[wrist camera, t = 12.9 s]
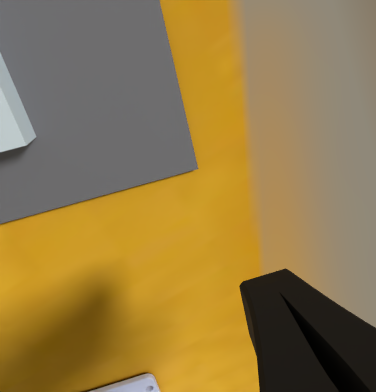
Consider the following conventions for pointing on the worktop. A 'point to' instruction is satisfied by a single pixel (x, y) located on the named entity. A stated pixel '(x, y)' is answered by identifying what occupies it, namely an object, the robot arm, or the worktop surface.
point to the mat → (90, 102)
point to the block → (12, 114)
